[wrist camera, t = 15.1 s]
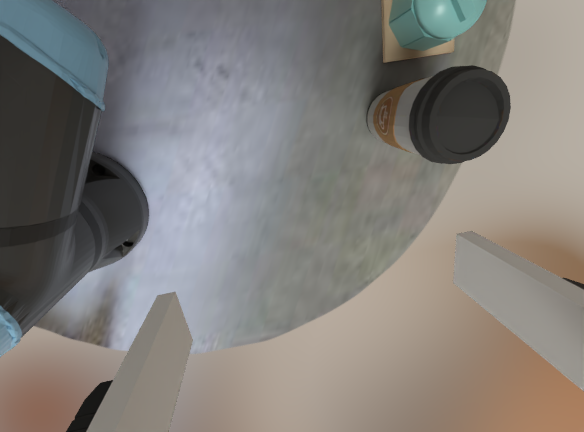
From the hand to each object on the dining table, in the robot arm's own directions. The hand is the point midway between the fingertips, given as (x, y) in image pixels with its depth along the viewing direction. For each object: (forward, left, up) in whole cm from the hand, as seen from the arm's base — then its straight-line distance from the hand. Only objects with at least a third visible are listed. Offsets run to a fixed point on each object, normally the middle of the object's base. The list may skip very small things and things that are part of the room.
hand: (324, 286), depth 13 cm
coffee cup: (+16, +5, -27) cm, 32 cm away
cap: (+20, +16, -26) cm, 37 cm away
